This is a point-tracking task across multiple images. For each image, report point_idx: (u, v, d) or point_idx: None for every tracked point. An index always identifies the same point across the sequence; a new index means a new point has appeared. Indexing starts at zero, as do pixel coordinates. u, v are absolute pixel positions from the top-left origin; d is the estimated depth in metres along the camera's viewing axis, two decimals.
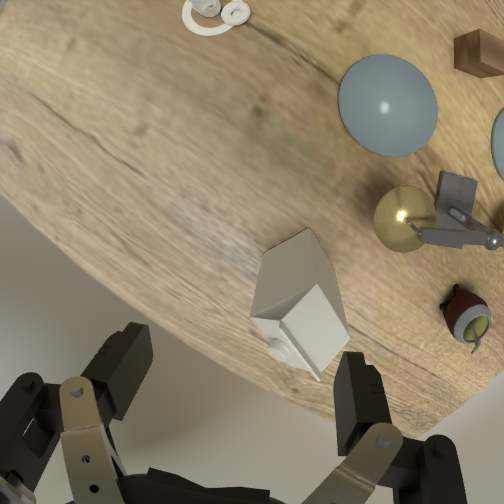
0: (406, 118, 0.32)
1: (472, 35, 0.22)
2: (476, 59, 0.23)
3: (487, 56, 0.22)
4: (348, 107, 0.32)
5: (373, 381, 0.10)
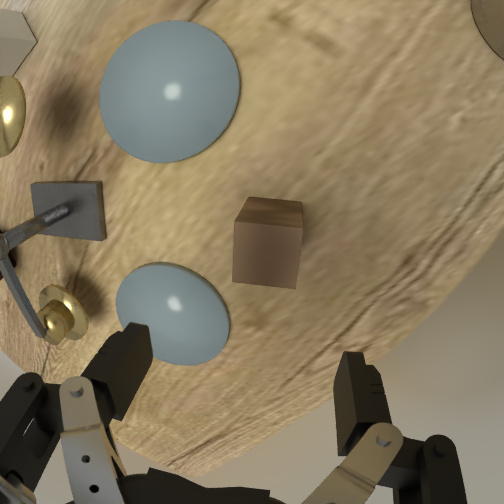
0: (148, 113, 0.24)
1: (294, 219, 0.22)
2: (242, 218, 0.21)
3: (250, 238, 0.21)
4: (152, 35, 0.21)
5: (373, 381, 0.10)
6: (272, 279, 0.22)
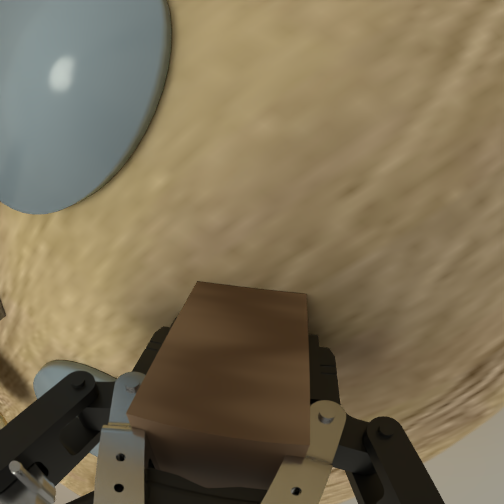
0: (11, 122, 0.10)
1: (288, 389, 0.08)
2: (150, 393, 0.07)
3: (173, 445, 0.07)
4: None
5: (326, 362, 0.11)
6: None
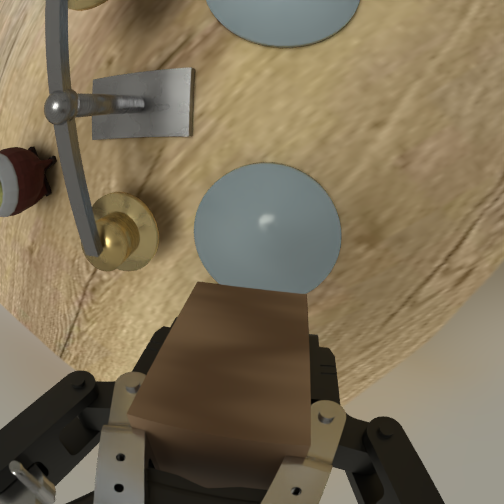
0: None
1: (288, 390, 0.08)
2: (151, 393, 0.07)
3: (173, 446, 0.07)
4: None
5: (326, 362, 0.11)
6: None
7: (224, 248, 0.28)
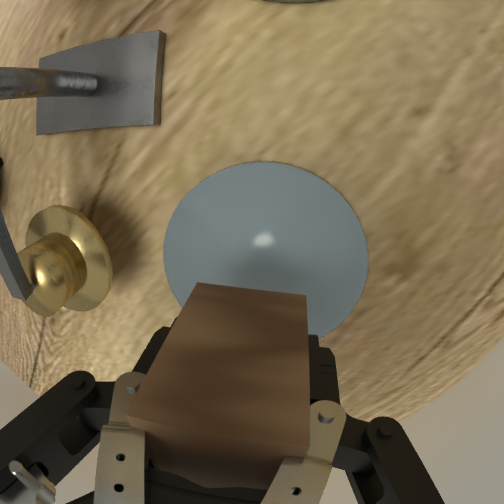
0: None
1: (287, 390, 0.08)
2: (150, 393, 0.07)
3: (173, 446, 0.07)
4: None
5: (326, 362, 0.11)
6: None
7: (206, 282, 0.20)
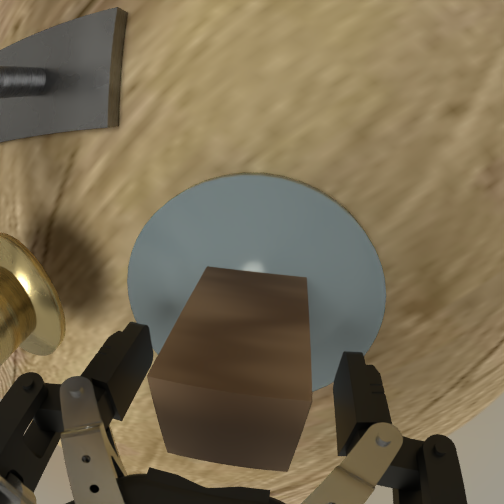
0: None
1: (291, 355, 0.09)
2: (169, 358, 0.09)
3: (188, 407, 0.08)
4: None
5: (373, 381, 0.10)
6: (241, 460, 0.09)
7: None
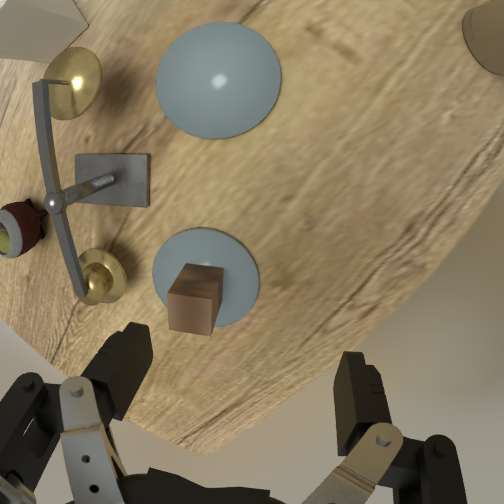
0: (202, 97, 0.29)
1: (209, 289, 0.31)
2: (173, 289, 0.30)
3: (178, 303, 0.30)
4: (208, 32, 0.26)
5: (373, 381, 0.10)
6: (194, 329, 0.31)
7: None
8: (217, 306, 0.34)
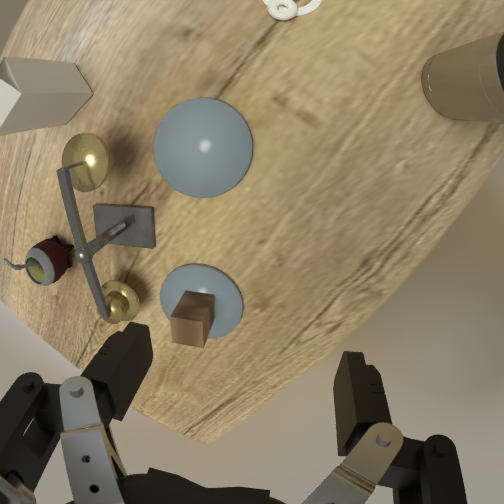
0: (190, 164, 0.38)
1: (201, 313, 0.41)
2: (174, 313, 0.40)
3: (178, 324, 0.40)
4: (191, 107, 0.35)
5: (373, 381, 0.10)
6: (191, 343, 0.41)
7: None
8: (209, 324, 0.44)
